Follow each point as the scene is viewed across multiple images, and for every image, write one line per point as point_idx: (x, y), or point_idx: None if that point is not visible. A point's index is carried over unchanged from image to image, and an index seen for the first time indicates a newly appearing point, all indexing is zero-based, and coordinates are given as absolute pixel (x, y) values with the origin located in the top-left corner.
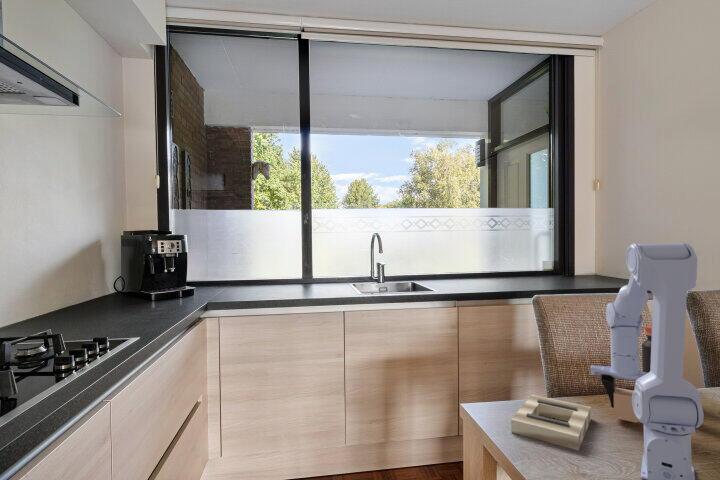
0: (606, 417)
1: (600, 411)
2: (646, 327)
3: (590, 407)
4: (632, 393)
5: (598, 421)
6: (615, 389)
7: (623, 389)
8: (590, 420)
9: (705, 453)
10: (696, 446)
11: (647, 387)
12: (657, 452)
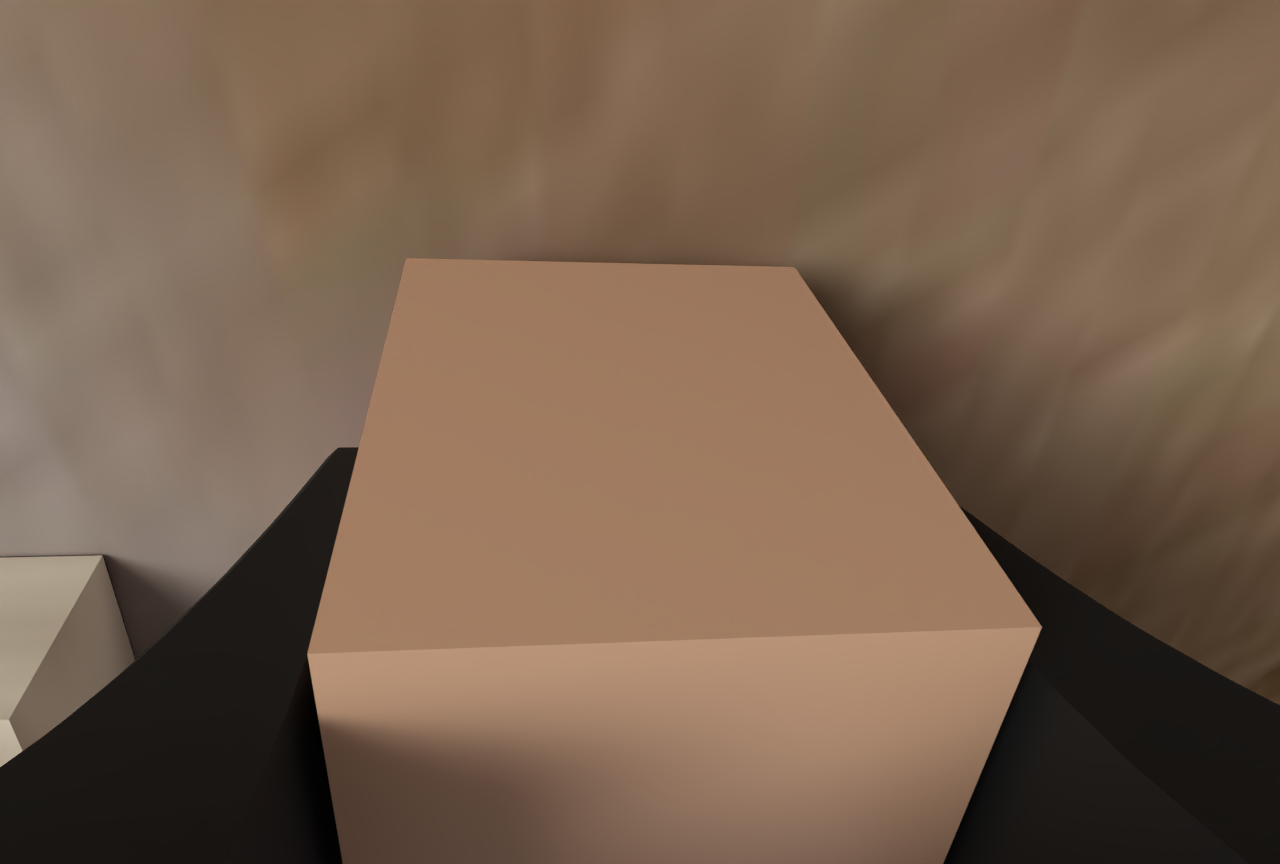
0: (280, 365)
1: (90, 125)
2: None
3: (12, 745)
4: (850, 845)
5: (222, 572)
6: (357, 821)
7: (605, 693)
8: (120, 633)
9: (1266, 691)
10: (1261, 604)
11: None
12: None
